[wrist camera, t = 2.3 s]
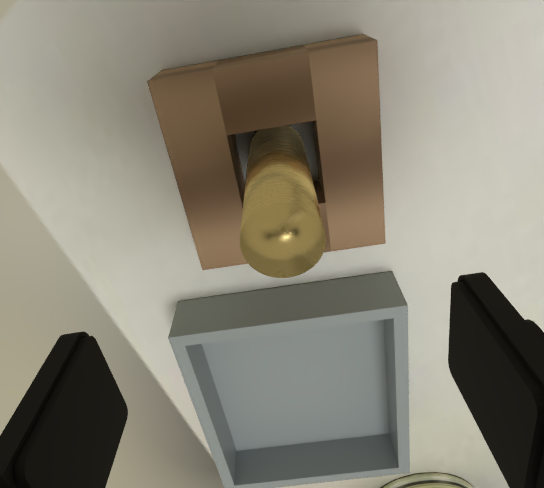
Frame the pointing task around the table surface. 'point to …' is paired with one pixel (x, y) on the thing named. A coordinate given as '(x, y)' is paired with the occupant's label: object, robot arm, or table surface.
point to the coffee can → (429, 481)
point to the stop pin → (280, 206)
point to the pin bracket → (268, 114)
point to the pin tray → (300, 380)
